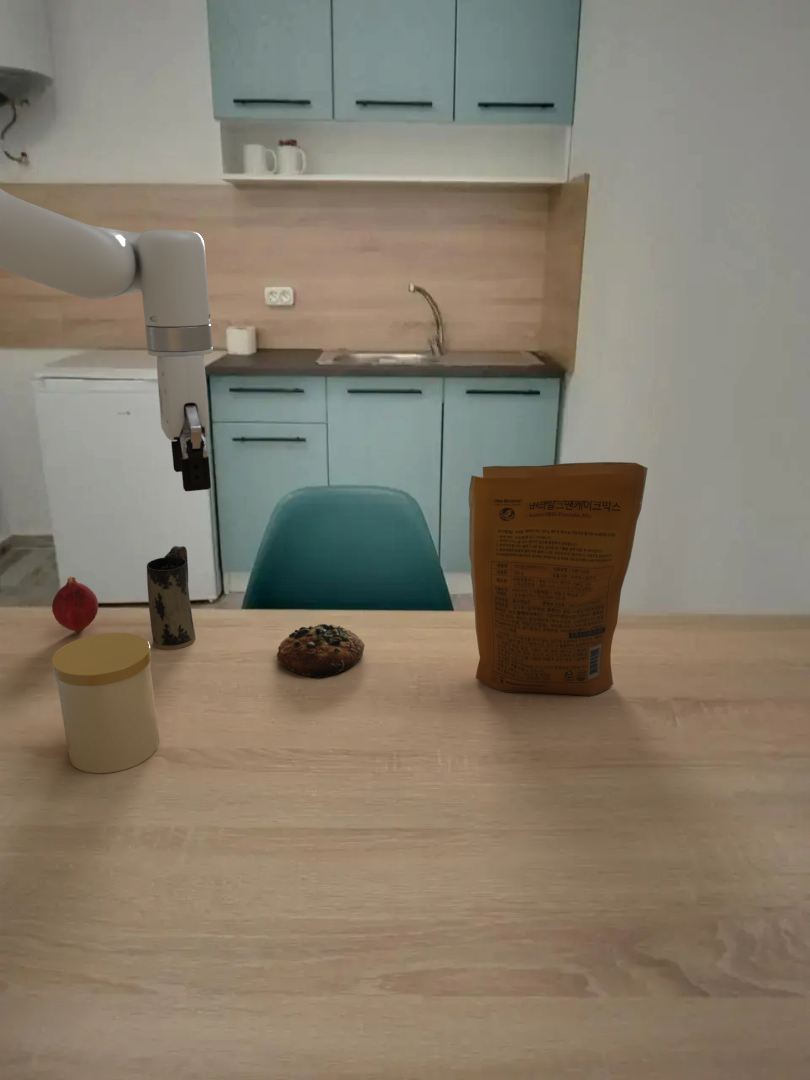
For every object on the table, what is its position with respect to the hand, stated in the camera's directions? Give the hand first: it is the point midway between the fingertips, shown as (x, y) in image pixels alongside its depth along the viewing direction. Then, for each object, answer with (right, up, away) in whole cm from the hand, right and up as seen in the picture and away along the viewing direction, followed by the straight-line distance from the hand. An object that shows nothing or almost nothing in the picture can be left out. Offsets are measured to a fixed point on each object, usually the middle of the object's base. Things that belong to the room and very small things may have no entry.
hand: (191, 479), depth 104 cm
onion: (-18, -20, +10) cm, 29 cm away
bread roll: (+16, -23, +2) cm, 28 cm away
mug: (-4, -21, +8) cm, 23 cm away
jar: (-4, -29, -17) cm, 34 cm away
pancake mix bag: (+44, -25, -5) cm, 51 cm away
